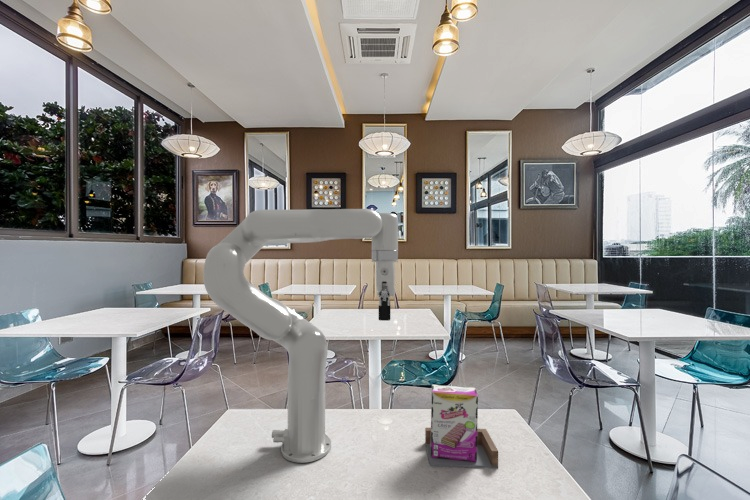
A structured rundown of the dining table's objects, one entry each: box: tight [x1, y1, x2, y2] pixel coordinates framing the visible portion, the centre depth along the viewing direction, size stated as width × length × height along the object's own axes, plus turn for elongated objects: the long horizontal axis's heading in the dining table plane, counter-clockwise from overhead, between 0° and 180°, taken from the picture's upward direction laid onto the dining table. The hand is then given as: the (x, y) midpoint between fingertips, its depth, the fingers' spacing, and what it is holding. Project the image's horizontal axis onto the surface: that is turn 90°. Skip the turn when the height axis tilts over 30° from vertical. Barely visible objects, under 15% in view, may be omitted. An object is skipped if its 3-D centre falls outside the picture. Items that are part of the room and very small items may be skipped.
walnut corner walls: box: [424, 427, 499, 468], centre depth 86 cm, size 16×10×4 cm, turn 88°
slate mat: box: [425, 444, 499, 469], centre depth 86 cm, size 16×10×1 cm, turn 88°
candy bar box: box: [430, 384, 479, 462], centre depth 85 cm, size 11×5×16 cm, turn 81°
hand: (384, 316), depth 97 cm, fingers open, 9 cm apart
